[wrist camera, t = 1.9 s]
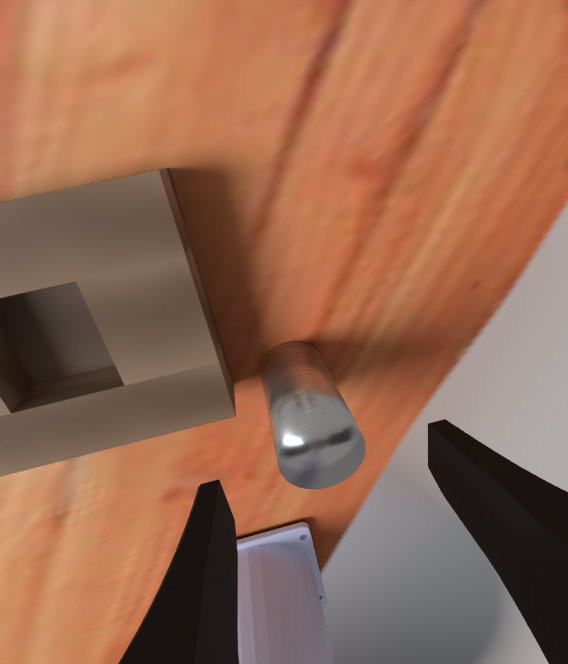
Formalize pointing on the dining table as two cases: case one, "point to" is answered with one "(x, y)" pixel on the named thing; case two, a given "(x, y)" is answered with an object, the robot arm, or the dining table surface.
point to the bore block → (102, 323)
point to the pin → (309, 418)
